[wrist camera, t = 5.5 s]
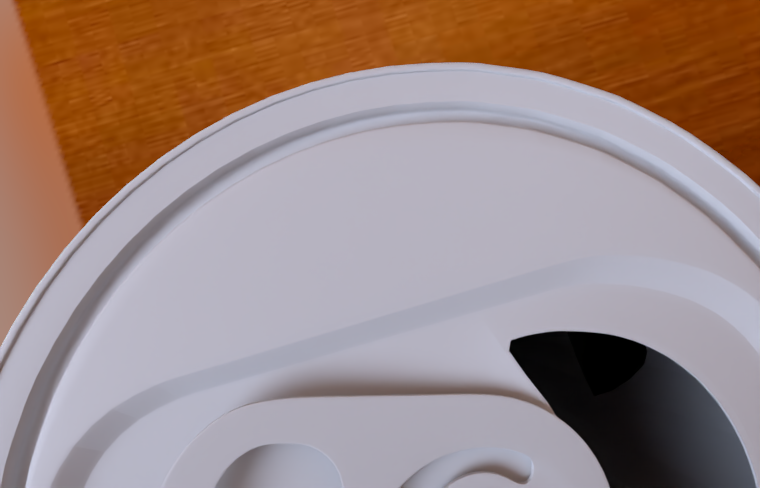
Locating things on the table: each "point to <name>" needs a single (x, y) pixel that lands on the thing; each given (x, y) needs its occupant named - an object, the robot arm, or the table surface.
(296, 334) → the beverage can
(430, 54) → the table surface
